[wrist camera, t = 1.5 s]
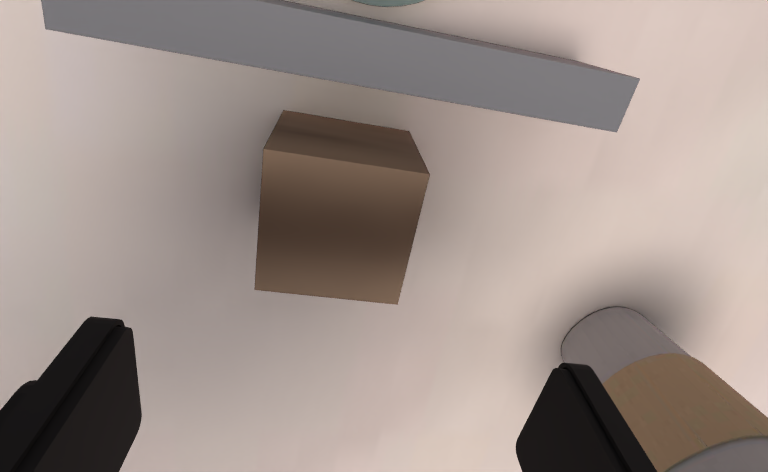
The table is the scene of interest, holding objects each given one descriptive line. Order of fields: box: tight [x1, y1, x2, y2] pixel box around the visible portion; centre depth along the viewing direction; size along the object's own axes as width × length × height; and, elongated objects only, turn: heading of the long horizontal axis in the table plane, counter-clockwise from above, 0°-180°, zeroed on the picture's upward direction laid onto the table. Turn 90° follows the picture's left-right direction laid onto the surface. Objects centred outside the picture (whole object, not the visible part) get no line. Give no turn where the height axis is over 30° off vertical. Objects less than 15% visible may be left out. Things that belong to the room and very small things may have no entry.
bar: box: [41, 0, 640, 132], centre depth 17 cm, size 2×20×5 cm, turn 80°
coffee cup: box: [561, 307, 768, 472], centre depth 23 cm, size 9×9×15 cm
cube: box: [254, 110, 430, 305], centre depth 20 cm, size 6×6×6 cm
